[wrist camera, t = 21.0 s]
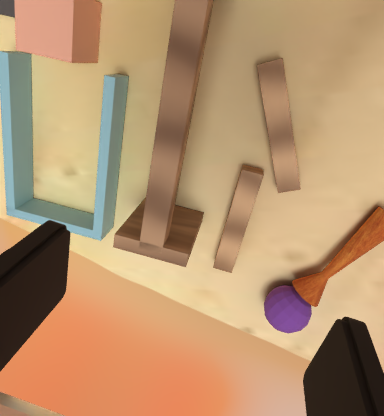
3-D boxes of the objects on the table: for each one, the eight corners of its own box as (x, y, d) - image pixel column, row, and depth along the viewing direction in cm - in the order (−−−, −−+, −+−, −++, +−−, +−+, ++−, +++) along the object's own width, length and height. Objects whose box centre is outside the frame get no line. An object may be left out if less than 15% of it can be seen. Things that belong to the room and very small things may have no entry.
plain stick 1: (243, 163, 40) (242, 169, 38) (263, 168, 40) (263, 175, 38) (215, 257, 46) (213, 267, 44) (232, 262, 46) (231, 272, 44)
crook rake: (180, -38, 33) (148, -79, 23) (259, -23, 32) (259, -58, 23) (144, 208, 44) (113, 247, 35) (201, 223, 44) (185, 267, 34)
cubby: (21, 51, 39) (-3, 50, 36) (128, 76, 38) (115, 77, 34) (25, 203, 48) (6, 214, 44) (113, 226, 47) (101, 240, 43)
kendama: (424, 243, 36) (294, 349, 43) (393, 217, 41) (282, 315, 48) (388, 214, 34) (259, 330, 41) (361, 191, 39) (251, 297, 46)
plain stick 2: (257, 64, 35) (257, 64, 33) (280, 58, 35) (282, 58, 33) (276, 185, 40) (278, 193, 38) (298, 182, 40) (300, 189, 37)
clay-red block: (50, -8, 36) (13, -21, 31) (102, 3, 36) (73, -8, 30) (49, 51, 39) (16, 49, 33) (98, 62, 38) (71, 62, 33)
